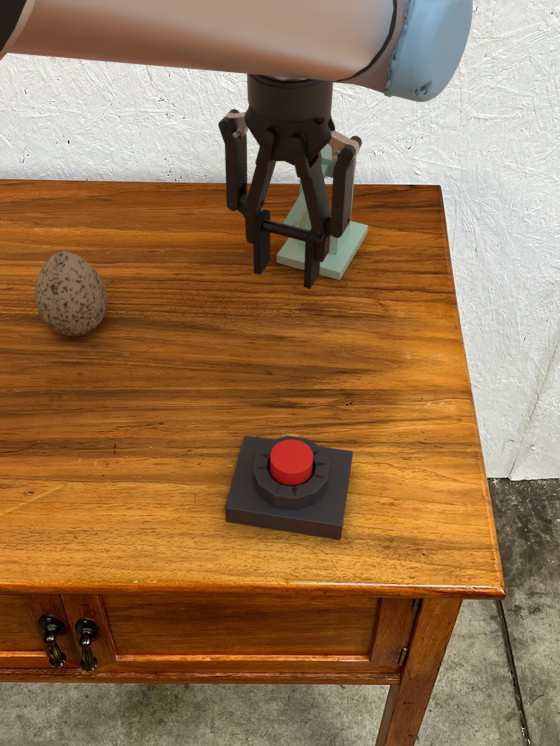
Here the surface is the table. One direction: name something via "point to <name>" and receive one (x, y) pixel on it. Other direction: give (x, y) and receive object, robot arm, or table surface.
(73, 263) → the decorative egg
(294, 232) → the lever
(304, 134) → the robot arm
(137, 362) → the table surface
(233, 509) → the control block
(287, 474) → the button
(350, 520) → the table surface
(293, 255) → the bracket
